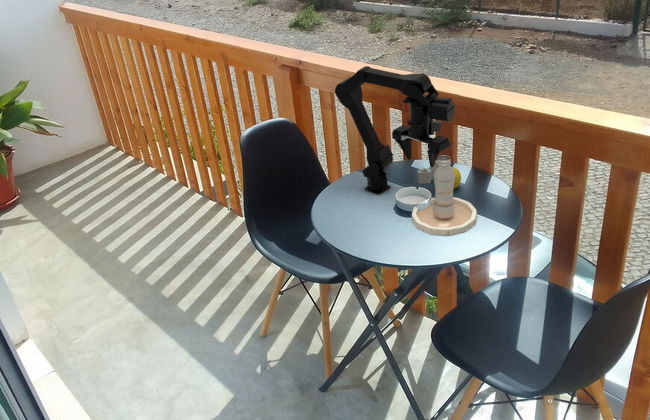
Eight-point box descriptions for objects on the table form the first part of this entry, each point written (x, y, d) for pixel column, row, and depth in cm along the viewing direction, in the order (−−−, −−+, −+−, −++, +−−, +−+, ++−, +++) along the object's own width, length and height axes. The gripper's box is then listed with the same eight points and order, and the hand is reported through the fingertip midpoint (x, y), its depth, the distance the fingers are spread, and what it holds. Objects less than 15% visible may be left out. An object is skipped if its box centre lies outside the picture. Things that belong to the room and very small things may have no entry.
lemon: (460, 193, 195) (461, 171, 190) (443, 192, 196) (443, 171, 192) (460, 184, 199) (461, 163, 195) (444, 184, 200) (444, 163, 196)
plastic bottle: (441, 208, 186) (441, 151, 176) (459, 215, 182) (460, 157, 172) (428, 216, 183) (427, 159, 173) (446, 224, 179) (446, 165, 168)
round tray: (400, 220, 184) (399, 215, 183) (438, 196, 194) (438, 190, 193) (449, 242, 171) (449, 236, 170) (488, 215, 182) (488, 209, 181)
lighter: (418, 183, 203) (418, 162, 199) (418, 181, 204) (417, 160, 200) (439, 183, 202) (439, 162, 198) (439, 180, 203) (439, 159, 199)
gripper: (461, 114, 178) (460, 161, 186) (413, 102, 190) (414, 146, 198) (437, 127, 172) (438, 175, 180) (389, 113, 184) (392, 158, 192)
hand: (420, 162), depth 188 cm, fingers open, 9 cm apart
